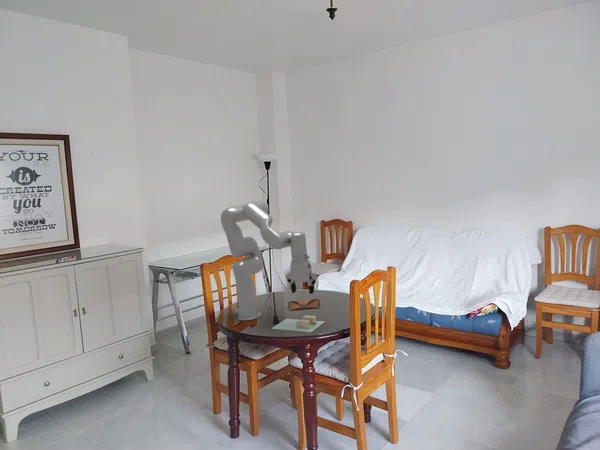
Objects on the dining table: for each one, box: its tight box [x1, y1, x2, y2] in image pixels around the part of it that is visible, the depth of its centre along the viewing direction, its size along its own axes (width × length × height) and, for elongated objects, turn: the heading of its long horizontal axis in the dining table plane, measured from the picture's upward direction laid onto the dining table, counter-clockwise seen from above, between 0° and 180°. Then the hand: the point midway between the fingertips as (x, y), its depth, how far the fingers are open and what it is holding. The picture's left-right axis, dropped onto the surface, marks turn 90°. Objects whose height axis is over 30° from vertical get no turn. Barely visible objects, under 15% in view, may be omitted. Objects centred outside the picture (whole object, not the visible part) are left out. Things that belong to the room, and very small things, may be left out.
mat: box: [271, 318, 326, 333], centre depth 225 cm, size 22×15×1 cm
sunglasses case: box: [287, 298, 321, 312], centre depth 255 cm, size 18×7×7 cm, turn 89°
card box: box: [296, 314, 318, 329], centre depth 223 cm, size 9×6×4 cm, turn 151°
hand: (302, 292), depth 222 cm, fingers open, 9 cm apart
